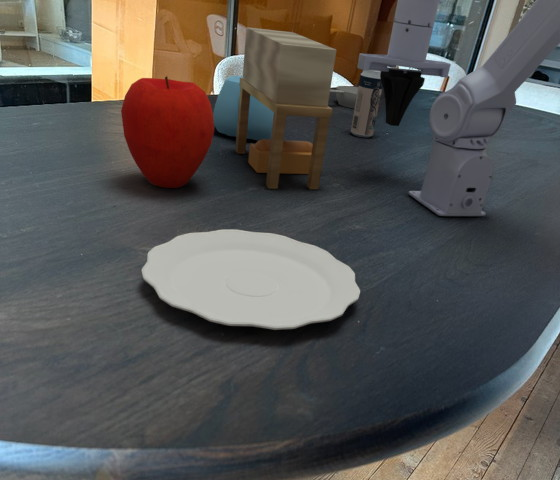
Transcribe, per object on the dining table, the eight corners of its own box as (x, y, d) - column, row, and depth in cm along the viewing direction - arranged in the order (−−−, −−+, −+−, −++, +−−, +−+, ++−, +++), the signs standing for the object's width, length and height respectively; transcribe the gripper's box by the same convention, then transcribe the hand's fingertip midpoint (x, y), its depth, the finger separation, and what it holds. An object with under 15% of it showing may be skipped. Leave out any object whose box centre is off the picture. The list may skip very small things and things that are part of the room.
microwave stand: (322, 190, 87) (344, 51, 76) (268, 189, 84) (284, 45, 74) (281, 152, 101) (295, 32, 91) (234, 150, 99) (243, 26, 88)
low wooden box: (317, 174, 93) (321, 146, 91) (257, 172, 90) (259, 143, 87) (306, 164, 97) (310, 137, 94) (248, 162, 94) (250, 134, 91)
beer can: (372, 139, 118) (385, 73, 111) (348, 135, 119) (360, 69, 112) (373, 134, 122) (386, 70, 115) (351, 130, 123) (362, 67, 116)
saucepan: (385, 110, 147) (388, 93, 145) (333, 112, 137) (336, 94, 135) (354, 100, 154) (357, 84, 151) (303, 101, 143) (306, 84, 141)
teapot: (295, 69, 111) (281, 82, 96) (287, 128, 117) (273, 149, 102) (230, 58, 112) (206, 70, 97) (226, 118, 118) (203, 138, 103)
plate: (342, 253, 68) (344, 240, 67) (370, 352, 51) (375, 336, 50) (159, 235, 66) (159, 220, 65) (125, 331, 49) (124, 313, 48)
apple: (199, 170, 87) (203, 70, 80) (221, 197, 78) (229, 88, 71) (117, 169, 83) (114, 64, 75) (131, 198, 74) (129, 82, 67)
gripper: (441, 26, 90) (419, 120, 97) (356, 15, 85) (340, 115, 93) (467, 32, 84) (441, 131, 92) (378, 21, 80) (358, 126, 87)
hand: (392, 124), depth 92 cm, fingers closed
